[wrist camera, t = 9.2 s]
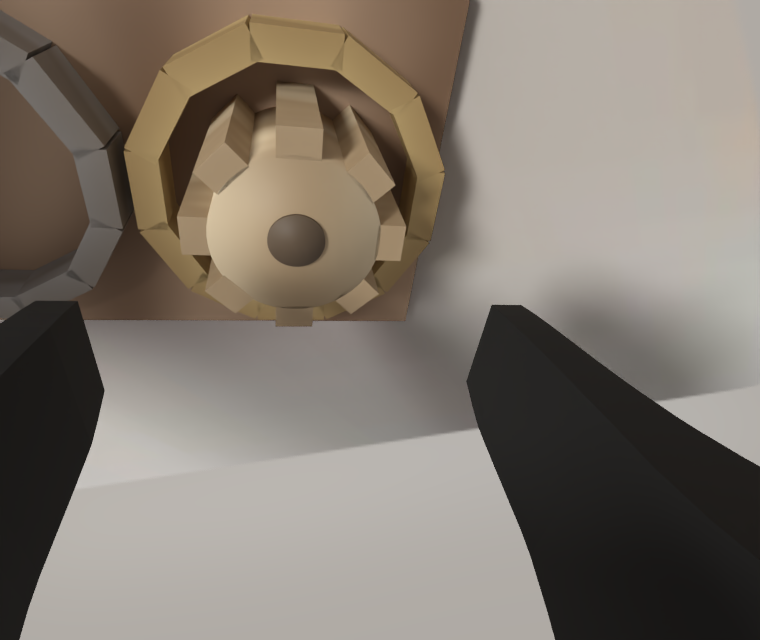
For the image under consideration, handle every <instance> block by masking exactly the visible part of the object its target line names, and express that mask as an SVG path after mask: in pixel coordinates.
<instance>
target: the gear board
mask: <svg viewBox="0 0 760 640" xmlns="http://www.w3.org/2000/svg"><path fill="white" fill-rule="evenodd" d="M469 2H470V0H0V319H8V318H9V317H11V316H12V315H14V314H15V313H17V312H18V311H20V310H21V309H23V308H24V307H26V306H28V305H29V304H31V303H32V302H34V301H78V304H79V307H80V310H81V314H82V317H83V320H276V307H273V306H269V305H266V304H263V303H260V302H258V301H255V300H251V301H250V302H249V303H248V304H246V305H245V306H244V307H243V308H241V309H240V310H239V311H238V312H236V313H234V312H232V311H231V310H230V309H228V308H227V307H226V306H224V305H223V304H222V303H220V302H219V301H218V300H216V299H215V298H213V297H212V296H211V295H209V294H208V293H207V292H205V289H206V284H207V279H208V274H209V270H210V265H211V260H212V257H211V255H182V251H181V244H180V236H179V229H178V221H177V215H178V212H179V209H180V206H181V204H182V201H183V198H184V195H185V193H186V190H187V187H188V184H189V182H190V179H191V176H192V174H193V173H192V172H193V170H194V167H195V164H196V161H197V159H198V156H199V153H200V150H201V148H202V145H203V142H204V140H205V137H206V134H207V131H208V129H209V126H210V123H211V120H212V118H213V117H214V116H215V115H216V114H217V113H218V112H219V111H220V110H221V109H222V108H223V107H224V106H226V105H227V104H228V103H229V102H230V101H231V100H232V99H233V98H234V97H235V96H236V95H237V94H238V95H239V96H240V98H241V99H242V100H243V101H244V102H245V103H246V104H247V105H248V106H249V107H250V108H251V109H252V110H253V112H254V113H257V112H259V111H262V110H264V109H267V108H271V107H275V106H276V84H277V81H284V82H294V83H303V84H313V85H314V89H315V94H316V98H317V103H318V107H319V112H320V113H322V114H323V115H325V116H327V117H328V118H330V119H331V120H333V119H334V118H335V117H336V116H338V115H339V114H340V113H341V112H342V111H343V110H344V109H345V108H347V107H348V106H349V105H350V106H351V107H352V108H353V110H354V111H355V112H356V113H357V115H358V116H359V117H360V119H361V120H362V121H363V122H364V124H365V125H366V126H367V127H368V129H369V130H370V131H371V133H372V135H373V137H374V140H375V142H376V144H377V146H378V148H379V150H380V152H381V155H382V157H383V159H384V161H385V163H386V165H387V168H388V170H389V172H390V174H391V176H392V178H393V181H394V183H395V186H394V187H393V188H391V189H390V190H391V192H392V195H393V197H394V199H395V202H396V204H397V206H398V208H399V211H400V213H401V215H402V218H403V220H404V222H405V225H406V231H405V237H404V243H403V248H402V254H401V260H400V261H383V260H375V263H374V264H373V266H372V271H373V274H374V278H375V282H376V285H377V289H378V292H379V294H378V295H377V296H375V297H374V298H372V299H371V300H370V301H368V302H367V303H366V304H364V305H363V306H361V307H360V308H359V309H357V310H356V311H355V312H353V313H352V314H350V313H349V312H348V311H347V310H346V309H345V308H343V307H342V306H341V305H340V304H339V303H338V302H337V301H336V300H335V301H333V302H330V303H328V304H325V305H321V306H317V307H313V321H405V319H406V314H407V309H408V304H409V299H410V294H411V289H412V285H413V280H414V275H415V270H416V265H417V260H418V256H419V255H420V253H421V252H422V251H423V250H424V249H425V248H426V246H427V245H428V244H429V242H428V241H431V236H432V232H433V227H434V222H435V218H436V213H437V208H438V204H439V199H440V194H441V190H442V185H443V180H444V176H445V173H444V170H445V169H444V166H443V163H442V160H441V157H440V154H439V151H440V146H441V141H442V136H443V131H444V126H445V121H446V116H447V111H448V106H449V101H450V96H451V91H452V87H453V82H454V77H455V72H456V67H457V62H458V57H459V52H460V47H461V42H462V37H463V32H464V27H465V22H466V17H467V12H468V7H469Z"/></svg>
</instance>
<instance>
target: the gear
mask: <svg viewBox="0 0 760 640" xmlns="http://www.w3.org/2000/svg"><path fill="white" fill-rule="evenodd" d="M192 173H193V174H192V176H191V179H190V182H189V184H188V187H187V190H186V193H185V195H184V198H183V201H182V204H181V206H180V209H179V212H178V215H177V221H178V229H179V236H180V244H181V251H182V255H211V257H212V260H211V265H210V270H209V274H208V279H207V284H206V289H205V292H207V293H208V294H209V295H211V296H212V297H213V298H215V299H216V300H218V301H219V302H220V303H222V304H223V305H224V306H226V307H227V308H228V309H230V310H231V311H232V312H234V313H236V312H238V311H239V310H240V309H241V308H243V307H244V306H245V305H246V304H248V303H249V302H250V301H251V300H255V301H258V302H260V303H263V304H266V305H269V306H273V307H276V326H312V321H313V307H317V306H321V305H325V304H328V303H330V302H333V301H335V300H336V301H337V302H338V303H339V304H340V305H341V306H342V307H343V308H345V309H346V310H347V311H348V312H349V313H350V314H352V313H353V312H355V311H356V310H357V309H359V308H360V307H361V306H363V305H364V304H366V303H367V302H368V301H370V300H371V299H372V298H374V297H375V296H377V295H378V294H379V292H378V289H377V285H376V282H375V278H374V274H373V271H372V266H373V264H374V263H375V260H383V261H400V260H401V254H402V248H403V243H404V237H405V231H406V225H405V222H404V220H403V218H402V215H401V213H400V211H399V208H398V206H397V204H396V202H395V199H394V197H393V195H392V192H391V190H390V189H391V188H393V187H394V186H395V183H394V181H393V178H392V176H391V174H390V172H389V170H388V168H387V165H386V163H385V161H384V159H383V157H382V155H381V152H380V150H379V148H378V146H377V144H376V142H375V140H374V137H373V135H372V133H371V131H370V130H369V129H368V127H367V126H366V125H365V124H364V122H363V121H362V120H361V119H360V117H359V116H358V115H357V113H356V112H355V111H354V110H353V108H352V107H351V106H350V105H349V106H348V107H347V108H345V109H344V110H343V111H342V112H341V113H340V114H339V115H338V116H336V117H335V118H334V119H333V120H331V119H330V118H328V117H327V116H325V115H323V114H322V113H320V112H319V107H318V103H317V98H316V94H315V89H314V85H313V84H303V83H294V82H284V81H277V84H276V106H275V107H271V108H267V109H264V110H262V111H259V112H257V113H254V112H253V110H252V109H251V108H250V107H249V106H248V105H247V104H246V103H245V102H244V101H243V100H242V99H241V98H240V96H239V95H238V94H237V95H236V96H235V97H234V98H233V99H232V100H231V101H230V102H229V103H228V104H227V105H226V106H224V107H223V108H222V109H221V110H220V111H219V112H218V113H217V114H216V115H215V116H214V117H213V118H212V120H211V123H210V126H209V129H208V131H207V134H206V137H205V140H204V142H203V145H202V148H201V150H200V153H199V156H198V159H197V161H196V164H195V167H194V170H193V172H192Z"/></svg>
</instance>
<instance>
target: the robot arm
mask: <svg viewBox="0 0 760 640" xmlns="http://www.w3.org/2000/svg"><path fill="white" fill-rule="evenodd" d="M467 385H468V389H469V393H470V397H471V401H472V406H473V409H474V413H475V416H476V420H477V424H478V427H479V430H480V432H481V435H482V437H483V440H484V442H485V445H486V447H487V450H488V452H489V454H490V457H491V459H492V462H493V464H494V467H495V469H496V471H497V474H498V476H499V479H500V481H501V483H502V486H503V488H504V491H505V493H506V495H507V498H508V500H509V503H510V505H511V507H512V510H513V512H514V515H515V517H516V519H517V522H518V524H519V527H520V529H521V531H522V534H523V537H524V540H525V542H526V545H527V548H528V550H529V553H530V556H531V559H532V562H533V566H534V569H535V572H536V575H537V579H538V582H539V585H540V589H541V592H542V595H543V598H544V601H545V605H546V608H547V612H548V615H549V619H550V622H551V626H552V630H553V633H554V637H555V640H760V466H758V465H756V464H754V463H752V462H751V461H749V460H747V459H745V458H744V457H741V456H740V455H738V454H737V453H735V452H733V451H732V450H730V449H728V448H727V447H725V446H723V445H722V444H720V443H718V442H717V441H715V440H713V439H712V438H710V437H708V436H707V435H705V434H703V433H701V432H700V431H698V430H697V429H695V428H693V427H692V426H690V425H688V424H687V423H686V422H684V421H682V420H681V419H679V418H678V417H676V416H674V415H673V414H672V413H670V412H669V411H667V410H666V409H664V408H663V407H661V406H660V405H658V404H657V403H655V402H654V401H653V400H651V399H650V398H648V397H647V396H645V395H644V394H642V393H641V392H639V391H638V390H636V389H635V388H634V387H632V386H631V385H629V384H628V383H627V382H625V381H624V380H622V379H621V378H620V377H618V376H617V375H616V374H614V373H613V372H611V371H610V370H609V369H607V368H606V367H605V366H603V365H602V364H601V363H599V362H598V361H597V360H595V359H594V358H593V357H591V356H590V355H589V354H587V353H586V352H585V351H583V350H582V349H581V348H579V347H578V346H577V345H575V344H574V343H573V342H571V341H570V340H569V339H568V338H566V337H565V336H564V335H562V334H561V333H560V332H558V331H557V330H556V329H554V328H553V327H552V326H550V325H549V324H548V323H546V322H545V321H544V320H542V319H541V318H539V317H538V316H537V315H535V314H534V313H532V312H531V311H529V310H528V309H526V308H525V307H523V306H521V305H492V306H491V309H490V312H489V315H488V318H487V321H486V324H485V327H484V330H483V333H482V336H481V339H480V342H479V345H478V348H477V351H476V354H475V357H474V360H473V363H472V366H471V369H470V372H469V376H468V379H467ZM103 395H104V387H103V384H102V380H101V377H100V374H99V370H98V367H97V364H96V360H95V357H94V354H93V350H92V347H91V344H90V340H89V337H88V334H87V330H86V327H85V324H84V320H83V317H82V314H81V310H80V307H79V304H78V301H34V302H32V303H31V304H29V305H28V306H26V307H24V308H23V309H21V310H20V311H18V312H17V313H15V314H14V315H12V316H11V317H9V318H8V319H6V320H5V321H3V322H2V323H0V640H19V639H20V635H21V632H22V628H23V625H24V621H25V618H26V614H27V611H28V607H29V605H30V602H31V599H32V596H33V593H34V590H35V588H36V585H37V582H38V579H39V576H40V574H41V571H42V569H43V566H44V564H45V561H46V559H47V556H48V554H49V551H50V549H51V546H52V544H53V541H54V538H55V536H56V533H57V531H58V529H59V526H60V524H61V521H62V519H63V516H64V514H65V511H66V508H67V506H68V504H69V501H70V499H71V496H72V494H73V491H74V489H75V486H76V484H77V481H78V478H79V476H80V473H81V471H82V468H83V466H84V463H85V460H86V458H87V455H88V453H89V450H90V447H91V445H92V441H93V437H94V433H95V429H96V425H97V421H98V417H99V413H100V408H101V404H102V399H103Z"/></svg>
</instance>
